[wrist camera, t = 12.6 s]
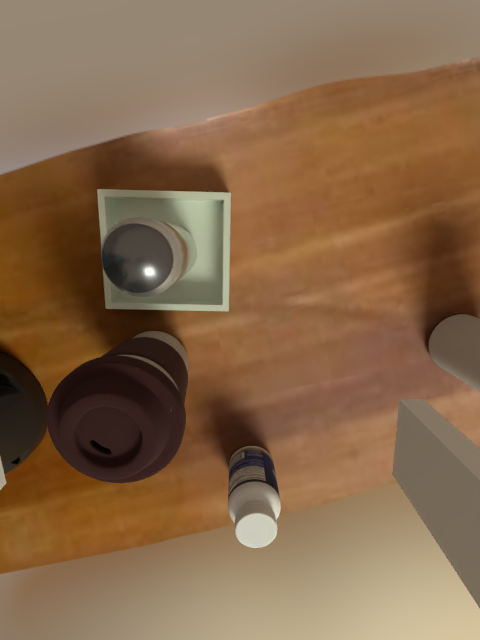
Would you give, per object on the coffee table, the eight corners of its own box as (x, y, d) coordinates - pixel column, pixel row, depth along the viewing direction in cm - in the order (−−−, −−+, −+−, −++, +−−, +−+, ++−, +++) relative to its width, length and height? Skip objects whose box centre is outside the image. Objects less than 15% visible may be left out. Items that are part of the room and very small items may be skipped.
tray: (116, 302, 36) (105, 308, 33) (109, 193, 33) (97, 188, 30) (229, 305, 36) (228, 311, 33) (230, 196, 34) (230, 192, 31)
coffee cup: (180, 304, 36) (143, 349, 22) (214, 384, 39) (201, 474, 24) (95, 336, 37) (5, 400, 22) (134, 413, 39) (75, 517, 25)
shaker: (143, 278, 35) (98, 298, 23) (141, 222, 34) (91, 215, 22) (197, 279, 35) (178, 300, 23) (196, 224, 34) (176, 217, 22)
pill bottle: (274, 481, 42) (286, 552, 32) (230, 484, 42) (229, 556, 32) (272, 442, 40) (283, 505, 31) (227, 445, 40) (225, 509, 31)
